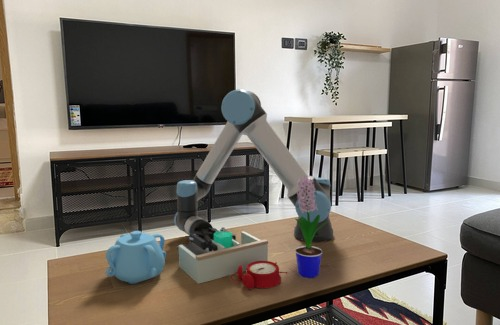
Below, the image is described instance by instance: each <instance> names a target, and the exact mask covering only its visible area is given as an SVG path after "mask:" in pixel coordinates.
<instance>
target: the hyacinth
mask: <svg viewBox="0 0 500 325" xmlns="http://www.w3.org/2000/svg"><path fill="white" fill-rule="evenodd" d="M310 178H311V177H310ZM303 179H304V180H303ZM298 182H299V183H300V182H301V183H300V184H298V185H300V186H299V187H298V190H301V191H299V193H298V192H297V196H298V197H297V198H299V199H298V201H299V202H298V204H299V208H300V210H301V212H302V213H303V212H304V211H305V212H307V220H306V219H305V218H304V217H300V220H301V222H300V221H299V220H298V218H294V220H295V221H296V224H297V223H298V224H299V226H300V228H301V230H302V233H303V236H304V239H305V245H301V246H300V245H299V246H298V247H296V248H295V249H294V250H295V257H296V266H297V274H298V275H299V276H300V277H303V278H309V279H311V278H313V279H314V278H316V277H318V276H319V275H320V268H321V263H322V254H323V250H322V249H321V248H320V247H317V246H315V245H314V246H313V245H312V243H313V242H312V239H313V237H314V235H315V233H316V232H317V230H318V229H319V228H321V227H322V226H323V225H325V224H326V223H327V222H328V221H327V222H325V223H324V224H323V225H321V226H320V227H318V228H317V229H316V227H317V224H318V222H319V219H320V215H319V214H318V215H317V216H316V218H315V219H314V221H313V222H311V223H310V215H309V211H310V210H312V212H313V210H315V209H317V203H315V200H314V198H315V196H316V195H314V191H315V188H314V186H312V185H313V184H312V182H314V181H313V180H312V179H308V177H307V176H304V177H302V179H301V178H300V179H299V181H298ZM303 190H304V191H303ZM299 196H300V197H299ZM305 198H306V199H305ZM312 199H313V200H312ZM315 204H316V206H315ZM311 205H312V206H311ZM317 210H318V209H317ZM315 229H316V230H315Z"/></svg>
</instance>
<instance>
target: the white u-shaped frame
mask: <svg viewBox="0 0 500 325" xmlns="http://www.w3.org/2000/svg"><path fill="white" fill-rule="evenodd" d="M240 233H241V234H240V235H241V236H240V242H241V243H240V245H239V246H235V247H230V248H226V249H222V250H218V251H213V252H209V253H205V254H201V255H197V256H196V255H195V254H193V253H192V252H191V251H190V250H188V249H187V248H186V247H184V246H183V245H184V244H179V245H178V246H179V250H178V266H179V268H180V269H181V270H183V272H185V274H187V275H188V277H190V278H192V280H193V281H194V282H196V283H197V285H199V284H202V283H206V282H210V281H213V280H216V279H221V278H224V277H228V276H231V275H233V274H235V275H236V272H238V267H239V266H240V265H242V272H245V271H246V272H247V266H248V265H249V264H250V263H252V262H255V261H268V252H269V250H268V247H269V246H268V244H269V240H267V239H265V238H263V239H260V238H258V237H256V236H254V235H252V234H250V233H248V232H247V231H241V232H240Z"/></svg>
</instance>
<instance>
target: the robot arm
mask: <svg viewBox="0 0 500 325" xmlns="http://www.w3.org/2000/svg"><path fill="white" fill-rule="evenodd" d="M221 101H222V102H221V109H220V110H221V114H222V116H223V118H224V119H225V120H226V124H225V125H224V126H223V129H222V130H221V132H220V134H219V135H218V137H217V138H216V141H215V142H214V144H212V147H211V148H210V150H209V152H208V154H207V155H206V157H205V158H204V161H203V162H202V164H201V165H200V167H199V169H198V171H197V172H196V174H195V176H194V178H193V179H192V180H191V179H189V180H188V179H185V180H180V181H178V182H177V184H176V193H175V194H176V203H177V205H176V206H177V212H175V215H174V217H173V221H174V225H175V226H176V227H177V229H179V230H180V231H182V232H183V233H185V234H186V235H188V236H189V237H188V238H189V242H190V243H194V244H196V245H197V246H199V247H200V248H201V249H203V250H206V248H208V249H209V251H212V250H213V251H218V250H222V249H225V247H224V246H223V245H221V244H219V243H216V242H214V241H213V243H212V240H214V233H215V232H216V231H224V232H230V231H229V230H227V229H226V228H225V227H221V228H220V229H217V228H215V227H213V226H212V224H211V223H210V222H209V221H207V220H206V219H204V218H202V217H200V216H198V215H199V214H198V210H199V209H198V208H199V206H198V202H199V200H202V198H204V197H206V196H207V195H208V194H209V192H210V190H211V186H212V184H214V181H215V180H216V178H217V176H218V175H219V173H220V172H221V169H223V167H224V165H225V163H226V162H227V160H228V158H230V156H231V154H232V152H233V151H234V149H235V147H236V146H237V145H238V142H239V141H240V139H241V137H242V136H243V135H244V136H247V137H248V139H249V140H250V142H251V143H252V144H253V146H254V147H255V148H256V150H257V151H258V152H259V154H260V155H261V156H262V157H263V159H264V160H265V162H266V163H267V164H268V166H270V168H271V169H272V171H273V172H274V174H275V175H276V177H278V179H279V180H280V181H281V183H282V185H284V187H285V188H286V189H287V194H286V196H287V198H288V199H289V201H290V202H291V203H292V204H293V206H294V209H295V212H296V214H297V215H298V218H297V219H298V220H299V221H300V222H301V220H300V217H304V218H305V219H306V220H307V212H305V211H304V212H303V213H302V212H301V210H300V208H299V204H298V202H299V201H298V199H299V198H297V197H298V196H297V192H298V193H299V191H301V190H298V187H299V186H300V185H298V184H300V183H301V182H300V183H299V182H298V181H299V179H300V178H301V179H302V177H304V176H307V177H308V179H312V180H313V181H314V182H312V184H313V185H312V186H314V188H315V191H314V195H316V196H315V198H314V200H315V203H317V209H318V210H317V209H315V210H313V212H312V210H310V211H309V215H310V223H311V222H313V221H314V219H315V218H316V216H317V215H318V214H319V215H320V219H319V222H318V224H317V227H316V229H317V228H318V227H320V226H321V225H323V224H324V223H325V222H327V221H328V222H327V223H326V224H325V225H323V226H322V227H321V228H319V229H318V230H317V232H316V233H315V235H314V237H313V239H312V242H311V243H321V242H328V241H330V240H332V239H333V238H334V229H333V228H332V227H333V226H332V222H331V220H330V212H331V210H332V202H331V194H330V193H331V181H330V179H329V178H325V177H315V176H314V175H313V176H312V175H308V174H307V172H306V171H305V170H304V169H303V167H302V166H301V165H300V164H299V163H300V162H298V161H297V159H296V158H295V156H294V155H293V154H292V153H291V152H290V150H289V149H288V147H287V146H286V145H285V143H284V142H283V141H282V139H281V138H280V137H279V135H278V134H277V133H276V131H275V129H273V128H272V126H271V125H270V124H269V121H268V120H267V118H268V113H267V112H266V111H265V110H264V107H262V103H261V100H260V97H258V96H257V94H255V92H252V91H249V90H245V89H243V88H239V89H234V90H231V91H229V92H228V93H227V94H226V95H225V96H224V98H223V100H221ZM310 177H311V178H310ZM303 180H304V179H303ZM303 191H304V190H303ZM299 197H300V196H299ZM305 199H306V198H305ZM312 200H313V199H312ZM311 206H312V205H311ZM315 206H316V204H315ZM316 229H315V230H316ZM293 231H294V233H293V236H294V237H295V238H296V239H298V240H301V241H305V239H304V236H303V233H302V230H301V228H300V226H299V224H298V223H297V222H296V224H295V226H294V230H293ZM231 233H232V247H235V246H239V245H241V243H240V242H239V241H238V240H236V238H237V237H236V234H234V233H233V232H231Z"/></svg>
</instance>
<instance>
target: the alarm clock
mask: <svg viewBox="0 0 500 325" xmlns="http://www.w3.org/2000/svg"><path fill="white" fill-rule="evenodd" d="M281 274H288V271H286V272H284V271H280V267H279V265H278V263H277V262H276V261H275V262H273V261H270V260H269V261H255V262H252V263H250V264H249V265H248V266H247V270H246V273H243V271H242V265H240V266H239V267H238V272H236V273H235V274H232V275H230V279H231V281H233V283H234V282H235V283H237V284H238V283H240V284H241V283H242V285H243V287H244V288H246V289H247V290H252V289H254V288H256V289H270V288H274V287H276V286H279V284H280V283H282V282H281V281H282V277H281ZM235 275H237V278H238V280H239V281H237V280H234V279H233V276H235Z"/></svg>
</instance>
